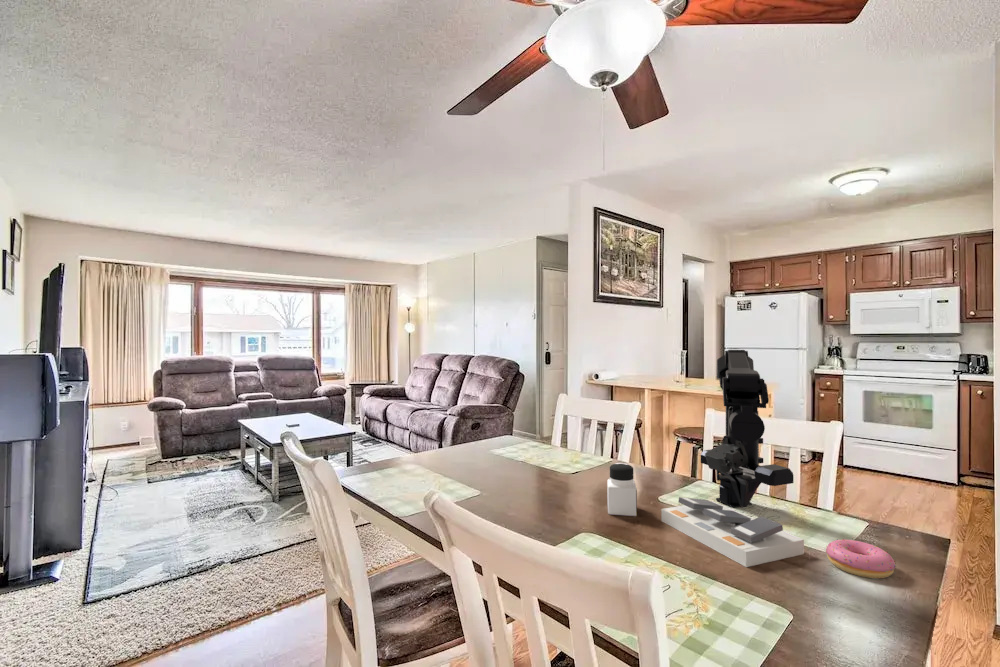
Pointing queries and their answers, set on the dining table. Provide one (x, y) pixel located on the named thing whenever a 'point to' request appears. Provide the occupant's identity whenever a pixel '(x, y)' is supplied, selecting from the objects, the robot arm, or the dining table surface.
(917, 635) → the dining table surface
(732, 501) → the robot arm
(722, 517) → the rocker middle
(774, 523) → the rocker
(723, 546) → the switch unit
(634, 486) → the medicine bottle
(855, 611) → the dining table surface
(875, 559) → the doughnut
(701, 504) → the block
